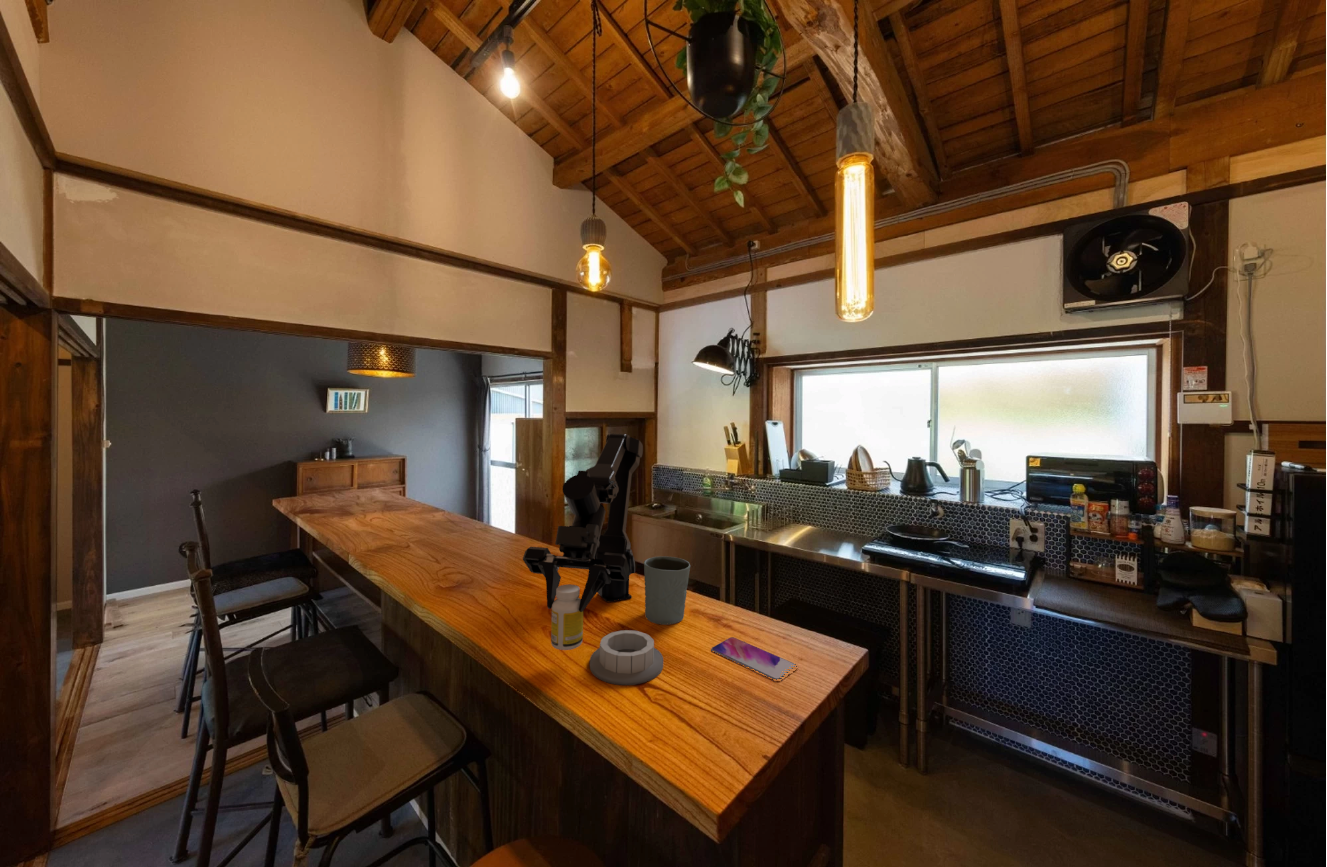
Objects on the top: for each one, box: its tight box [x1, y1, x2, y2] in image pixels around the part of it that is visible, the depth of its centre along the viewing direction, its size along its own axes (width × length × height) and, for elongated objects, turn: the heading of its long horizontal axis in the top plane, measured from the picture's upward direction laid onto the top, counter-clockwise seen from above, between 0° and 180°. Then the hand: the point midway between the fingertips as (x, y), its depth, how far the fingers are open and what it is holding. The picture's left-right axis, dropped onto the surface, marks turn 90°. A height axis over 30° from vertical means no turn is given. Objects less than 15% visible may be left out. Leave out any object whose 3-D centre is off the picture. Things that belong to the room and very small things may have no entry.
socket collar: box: [589, 629, 664, 686], centre depth 85 cm, size 13×13×4 cm
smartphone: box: [710, 636, 797, 680], centre depth 89 cm, size 7×1×15 cm
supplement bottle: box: [550, 584, 584, 651], centre depth 84 cm, size 5×5×10 cm
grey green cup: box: [643, 555, 691, 626], centre depth 106 cm, size 10×10×12 cm
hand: (564, 609), depth 82 cm, fingers closed on supplement bottle, 5 cm apart
